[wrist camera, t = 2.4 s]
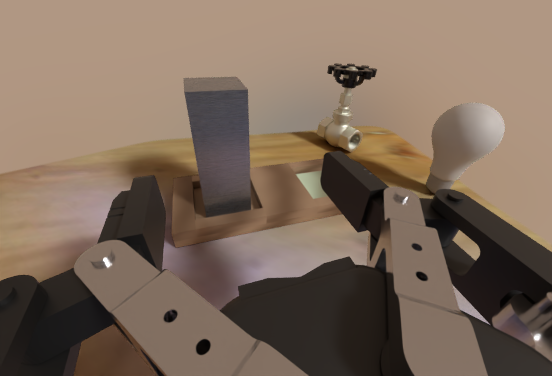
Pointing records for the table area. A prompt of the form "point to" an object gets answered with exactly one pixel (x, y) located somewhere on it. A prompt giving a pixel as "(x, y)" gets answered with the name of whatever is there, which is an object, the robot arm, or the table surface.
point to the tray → (253, 203)
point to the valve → (344, 107)
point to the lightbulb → (462, 141)
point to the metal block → (220, 142)
